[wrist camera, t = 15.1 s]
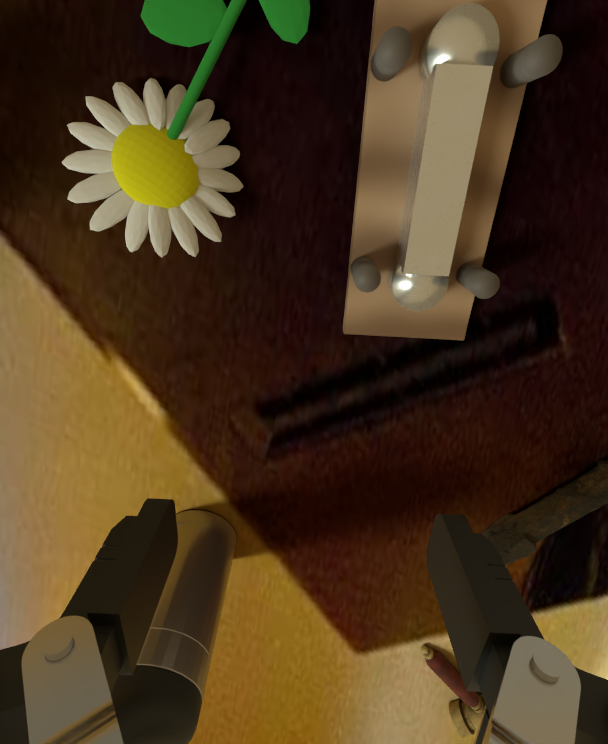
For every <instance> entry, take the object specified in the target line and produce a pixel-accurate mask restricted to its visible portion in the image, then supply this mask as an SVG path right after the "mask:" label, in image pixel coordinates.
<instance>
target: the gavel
mask: <svg viewBox="0 0 608 744" xmlns="http://www.w3.org/2000/svg"><path fill="white" fill-rule="evenodd" d="M421 651H422V652H423V655H424V657H425V659H426V662H427V665H428V666H429V667H430V668H431V669H432V670H433V671H434V672H435V673H436V674H437V675H438V676H439V677H440V678H441V679H442V680H443V681H444V683H445V684H446V685H447V686H448V687H449V688H450V689H451V690H452V691H453V692H454V693H455V694H456V695H457V696H458V697H459V698H460V699H461V700H462V701H463V702H462V701H460V700H459V699H458V700H455V701H452V702H449V713H450V717H451V720H452V723H453V725H454V727H455V729H456V731H457V732H458V734H459V735H460V736H461V737H463V738H464V737H467V736H470V735H473V734H474V732H475V730H476V729H477V730H478V728H479V725H480V722H481V718H482V715H483V712H484V709H485V707H486V704H485V701H484V698H483V695H482V694H480V695H477V693H476V692H469V691H466V689H465V686H464V683H463V680H462V676H461V675H460V674H459V673H458V672H457V671H456V670H455V668H454V667H453V666H452V665H451V664H450V663H449V662H448V661H447V660H446V659H445V658H444V657H443V656H442V655H441V654H440V653H439V652H438V651H436V650H433V649H431V648H429V647H426V646H422V647H421Z"/></svg>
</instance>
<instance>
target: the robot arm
mask: <svg viewBox="0 0 608 744" xmlns="http://www.w3.org/2000/svg"><path fill="white" fill-rule="evenodd" d="M235 546H236V534H235V531H234V529H233V528H232V526H231V525H230V524H229V523H228V522H227V521H226V520H225V519H223V518H222V517H220V516H218V515H216V514H214V513H210V512H207V511H201V510H189V511H184V512H181V513H178V514H176V512H175V503H174V501H173V500H169V499H149V498H148V499H147V500H146V501H145V502H144V504H143V506H142V508H141V510H140V512H139V514H138V516H126V517H125V518H124V519H122V520H121V521H120V522H119V523H118V524H117V525H116V526H115V527H113V528H112V529H111V531H110V533H109V535H108V536H107V538H106V540H105V542H104V543H103V546H102V548H100V550H99V552H98V554H97V555H96V557H95V561H93V562H92V564H91V566H90V568H89V569H88V571H87V573H86V574H85V576H84V578H83V580H82V581H81V583H80V585H79V587H78V588H77V590H76V592H75V594H74V595H73V597H72V599H71V600H70V602H69V604H68V606H67V607H66V609H65V611H64V612H63V614H62V615H61V617H60V618H59V619H57V620H55V621H53V622H51V623H49V624H48V625H46V626H45V627H43V628H42V629H41V630H40V631H39V632H37V633H36V635H35V636H34V637H33V638H32V639H31V640H30V641H28V642H26V643H23V644H20V645H17V646H13V647H10V648H6V649H2V650H0V744H188V743H189V741H190V740H191V739H192V737H193V735H194V732H195V730H196V727H197V723H198V719H199V714H200V709H201V705H202V700H203V695H204V691H205V686H206V681H207V677H208V672H209V667H210V662H211V657H212V653H213V648H214V643H215V639H216V634H217V629H218V625H219V620H220V615H221V611H222V606H223V601H224V597H225V592H226V588H227V583H228V578H229V574H230V569H231V565H232V560H233V555H234V551H235ZM427 567H428V571H429V574H430V578H431V581H432V584H433V587H434V590H435V594H436V597H437V600H438V603H439V606H440V609H441V613H442V616H443V619H444V622H445V625H446V629H447V632H448V635H449V638H450V641H451V644H452V648H453V651H454V654H455V657H456V660H457V664H458V667H459V670H460V673H461V676H462V680H463V683H464V686H465V689H466V691H469V692H481V693H482V695H483V698H484V701H485V704H486V707H485V709H484V712H483V715H482V718H481V722H480V725H479V728H478V731H477V735H476V738H475V741H474V744H608V680H606V679H604V678H601V677H598V676H595V675H593V674H590V673H587V672H585V671H582V670H580V669H578V668H576V667H574V665H573V664H572V663H571V661H570V660H569V659H568V658H567V656H566V655H565V654H564V653H563V652H562V651H561V650H559V649H558V648H557V647H556V646H554V645H553V644H551V643H550V642H548V641H546V640H544V638H543V636H542V634H541V633H540V631H539V629H538V627H537V625H536V623H535V621H534V619H533V617H532V615H531V614H530V612H529V610H528V608H527V606H526V604H525V602H524V600H523V598H522V596H521V594H520V592H519V591H518V589H517V587H516V585H515V583H514V582H513V581H512V577H511V575H510V573H509V571H508V570H507V568H505V564H504V562H503V560H502V558H501V556H500V554H499V552H498V550H497V548H496V547H495V546H494V545H493V544H492V543H491V542H490V541H489V540H488V539H487V538H486V537H485V536H484V535H483V534H473V532H472V530H471V528H470V526H469V523H468V521H467V519H466V518H465V516H463V515H457V514H437V515H436V517H435V520H434V524H433V528H432V532H431V536H430V539H429V543H428V547H427Z"/></svg>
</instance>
